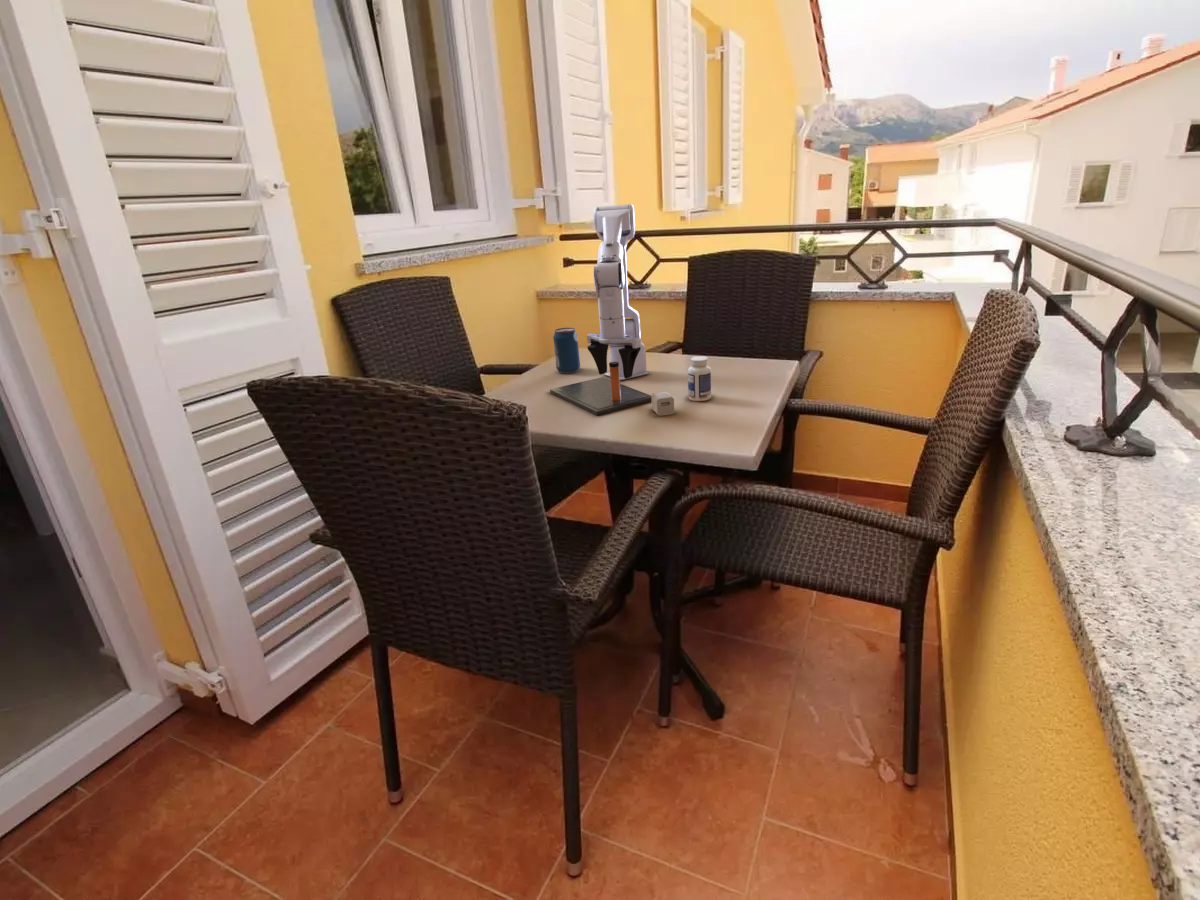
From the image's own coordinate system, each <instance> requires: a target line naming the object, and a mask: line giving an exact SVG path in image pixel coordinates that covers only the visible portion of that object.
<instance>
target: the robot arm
mask: <svg viewBox="0 0 1200 900" xmlns="http://www.w3.org/2000/svg"><path fill="white" fill-rule="evenodd" d="M593 223H594V224H593V225H594V230H595V232H596V235H597V237H598V239H599V241H601V243H600V244H599V246H598V249H597V250H598V252H597V262H596V265H593V271H592V273H593V283H594V287H595V295H596V299H597V305H598V320H599V332H600V333H595V332H591V333H588V334H586V343H587V344H589V345H587V351H588V352H589V353H590V355H591V357H592V358H593V360H594V363H595V365H596V369H597V371H598V374H599V375H603V374H604V375H605V376H607V377H609V378H610V371H609V372H608V350H609V359H610V360H609V361H610V362H619V376H620V381H623V380H628V379H632V378H636V377H637V378H638V377H641V376H645V375H649V371H648V370H647V367H648V366H647V350H646V346H645V344H644V343H643V341H642V338H641V335H642V334H641V333H642V332H641V319H640V314H639V311H638V310H636V309H635V308H633V307H632V306H630V304H629V287H628V286H629V285H628V264H627V263H628V262H627V246H628V242H629V241H630V240H633V239H635V235H636V228H635V227H636V218H635V206H634V205H633V203H627V204H615V205H613V204H612V205H601V206H599V205H595V207H594V208H593Z"/></svg>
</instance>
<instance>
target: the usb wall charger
mask: <svg viewBox="0 0 1200 900" xmlns="http://www.w3.org/2000/svg"><path fill="white" fill-rule="evenodd" d="M651 409H652V411H654V413H656V415H657V416H659V417H661V416H668V415H673V414H674V413H675V398H674V397H673V396H672V395H670V394H669V393H668V392H667V391H661V392H660V391H659V392H654V393H652V394H651Z"/></svg>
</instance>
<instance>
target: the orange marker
mask: <svg viewBox="0 0 1200 900" xmlns="http://www.w3.org/2000/svg"><path fill="white" fill-rule="evenodd" d="M608 367H609V372H610V377H609V380H610V382H611V397H612V400H613V401H619V400H621V393H620V384H621V380H620V376H619V362H611V361H610V362H608Z"/></svg>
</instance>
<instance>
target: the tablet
mask: <svg viewBox="0 0 1200 900" xmlns="http://www.w3.org/2000/svg"><path fill="white" fill-rule="evenodd" d="M549 393H550V394H552V395H554V396H556V397H558V398H560V399H562V400H564V401H566V402H568V403H570V404H572V405H574V406H576V407H579V408H580V409H583V410H585V411H587V412H589V413H591V414H592V415H595V416H600V415H605V414H609V413H612V412H617V411H619V410H620V411H621V410H623V409H628V408H632V407H635V406H639V405H643V404H645V403H650V402H651V403H652V401H651V396H652V394H648V393H646V392H643V391H640V390H638V389H634V388H633V387H630V386H627V385H625V384H622V383H620V393H621V400H619V401H613V400H612V397H611V382H610V378H606V377H603V376H602V377H597V378H593V379H587V380H584V381H580V382H575V383H571V384H567V385H563V386H558V387H553V388H550V389H549Z"/></svg>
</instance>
